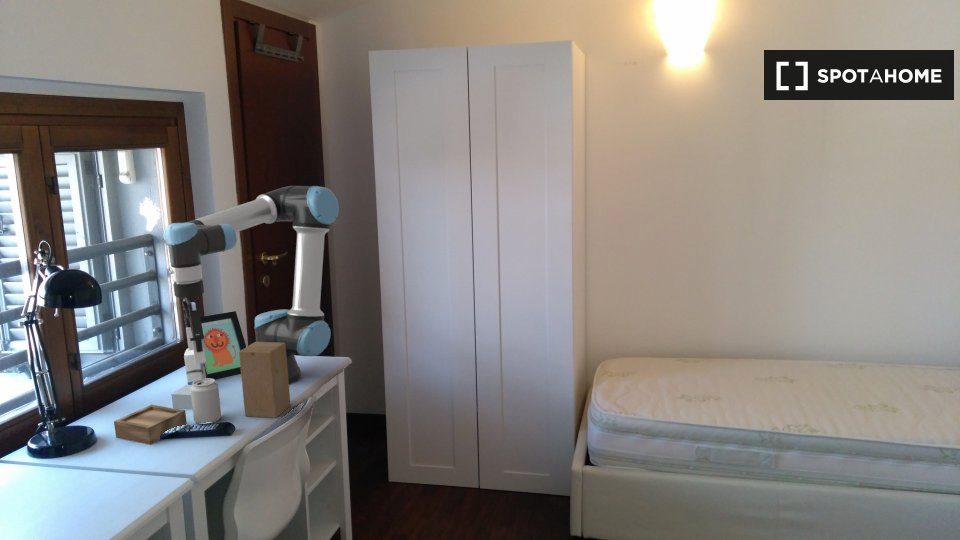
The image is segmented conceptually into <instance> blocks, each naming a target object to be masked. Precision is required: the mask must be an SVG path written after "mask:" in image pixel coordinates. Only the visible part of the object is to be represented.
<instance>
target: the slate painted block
mask: <svg viewBox="0 0 960 540" xmlns="http://www.w3.org/2000/svg"><path fill="white" fill-rule="evenodd" d="M192 386H193V385H188V384H185V385H183V386H182V387H180V388H179V389H177V390H175V391H174V392H172V393H170V394H171V401H172V408H174V409H179V410H182V409H193V408H192V399H191V390H190V389H191V387H192Z"/></svg>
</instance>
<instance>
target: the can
mask: <svg viewBox="0 0 960 540" xmlns="http://www.w3.org/2000/svg"><path fill="white" fill-rule="evenodd" d="M192 385H193V386H192V387H191V389H190V390H191V399H192V408H193V410H192V415H193V421H194V422H195V423H196V424H198V423H206V422H214V423H216V422H218V421H219V420H220V419H221V417H222V409H221V401H220V400H221V399H220V392H219V384H218V383H217V382H216V379H214V378H210V377H209V378H208V377H206V378H205V379H199V380H196V381H194V382H193V383H192ZM215 421H216V422H215Z"/></svg>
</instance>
